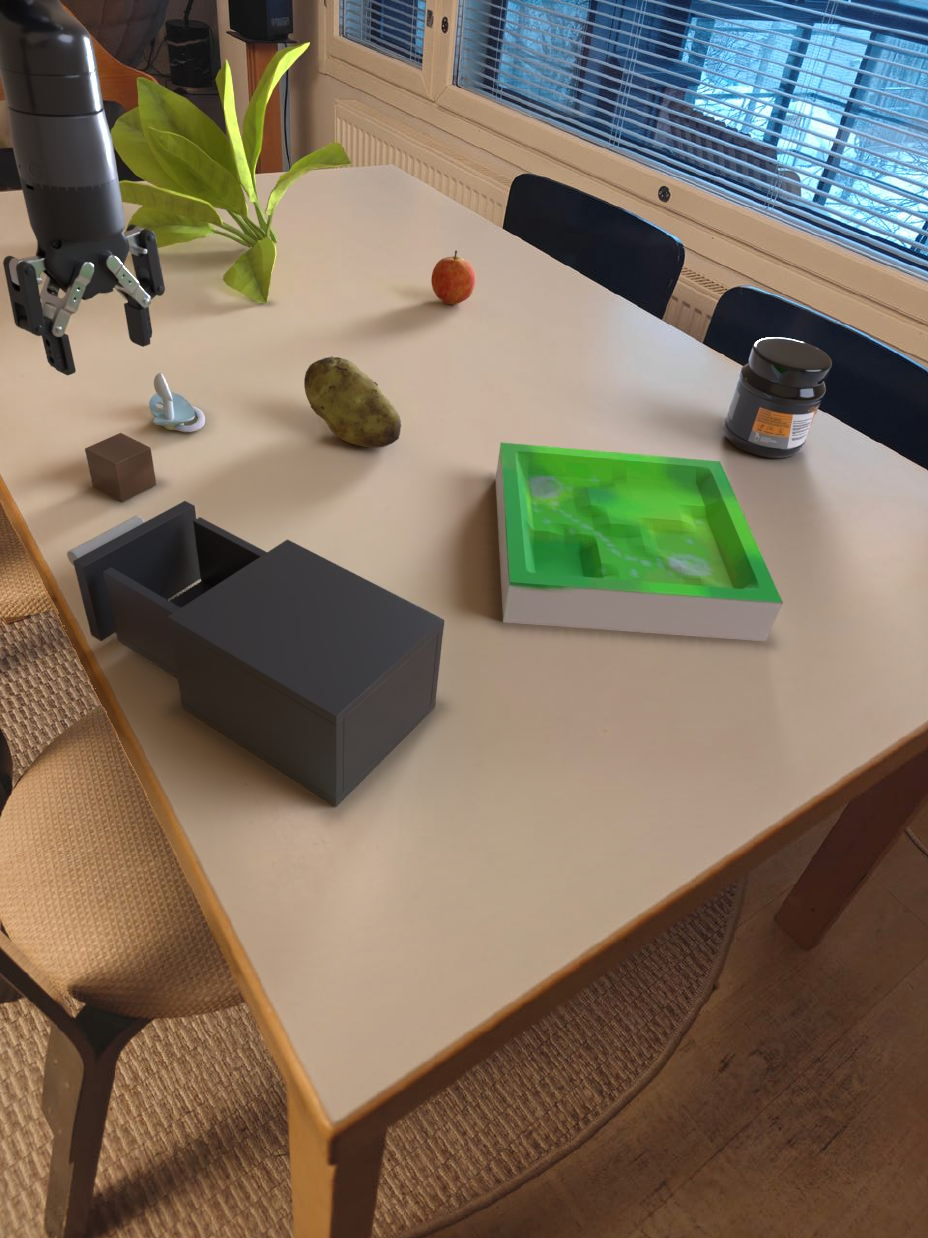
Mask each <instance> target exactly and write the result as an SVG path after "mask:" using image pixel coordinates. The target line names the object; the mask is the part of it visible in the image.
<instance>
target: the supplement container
mask: <svg viewBox="0 0 928 1238" xmlns="http://www.w3.org/2000/svg"><path fill="white" fill-rule="evenodd" d="M751 347H752V348H751V350H750V354H749V357H748V362H746V363H745V364H744V365H743V366H741V369H740V370H739V373H738V379H737V383H736V387H735V389H734V393H733V396H732V398H731V401H730V405H729V408H728V411H727V414H726V417H725V418H724V421H723V427H722V430H723V432H724V435H725V437H726V438H727V439H728V441H729V442H730V443H732V444H733V445H734V446H736V447H737V448H738V449H740V450H742V451H744V452H746V453H748V454H751V455H755V456H758V457H764V458H771V459H780V458H781V459H782V458H788V457H791V456H794V455H796V454H798V453H799V452H800V451H801V450H802V449H803V448H804V446H805V444H806V441H807V437H808V435H809V432H810V430H811V427H812V425H813V422H814V419H815V417H816V414H817V412H818V410H819V407H820V405H821V402H822V400H823V399H824V397H825V395H826V393H827V385H826V383H825V382H826V380H827V378H828V376H829V373H830V371H831V368H832V365H833V361H832V359H831V357H830V356H829V354H827V353H826V352H824V350H822V349H820V348H818V347H817V346H814V345H812V344H810V343H807V342H804V341H800V340H796V339H792V338H786V337H765V338H761V339H759V340H757V341H755V342H754V344H753V345H752V346H751Z"/></svg>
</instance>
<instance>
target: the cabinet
mask: <svg viewBox="0 0 928 1238" xmlns="http://www.w3.org/2000/svg"><path fill="white" fill-rule="evenodd" d="M266 552H267V553H265V554H264V555H262V556H261V557H259V558H258V559H256V560H255V561H253V562H251V563H250V564H248V565H247V566H245V567H244V568H242V569H241V570H239V571H238V572H236V573H234V574H233V575H231V576H230V577H228V578H227V579H225V580H224V581H222V582H221V583H219V584H217V585H216V586H214V587H213V588H211V589H210V590H208V591H207V592H205V593H203V594H202V595H200V596H199V597H197V598H196V599H194V600H193V601H191V602H190V603H188V604H186V605H185V606H183V607H182V608H180V609H179V610H177V611H176V612H174V613H173V614H171V615H169V616H168V623H169V629H170V635H171V641H172V647H173V653H174V659H175V665H176V671H177V677H178V678H177V682H178V688H179V693H180V700H181V706H182V709H183V710H184V711H186V712H187V713H189V714H190V715H192V716H194V717H195V718H197V719H199V721H201V722H203V723H204V724H206V725H208V726H209V727H211V728H212V729H214V730H215V731H217V732H218V733H220V734H221V735H223V736H225V737H226V738H228V739H230V740H231V741H233V742H234V743H235V744H237V745H238V746H240V747H242V748H243V749H245V750H247V752H250V753H251V754H253V755H254V756H256V757H257V758H259V759H261V760H262V761H264V762H265V763H266V764H268V765H270V766H271V767H273V768H275V769H276V770H278V771H279V772H281V773H282V774H284V775H286V776H287V777H289V778H290V779H291V780H292V781H295V782H296V783H298V784H299V785H301V786H303V788H305V789H307V790H308V791H310V792H311V793H313V794H315V795H316V796H318V797H319V798H321V799H323V800H324V801H326V802H327V803H329V804H330V805H332V806H333V807H335V808H337V807H338V806H339V805H340V804H341V803H342V802H343V801H344V800H345V799H346V798H347V797H348V796H349V795H350V794H351V792H353V791H354V790H355V789H356V788H357V787H358V786H359V785H360V784H361V783H362V782H363V781H364V780H365V779H366V778H367V777H368V776H369V775H370V774H371V773H372V772H373V771H374V770H375V769H376V768H377V767H378V765H379V764H381V762H383V761H384V760H385V759H386V758H387V757H388V756H389V755H390V753H392V752H393V751H394V749H395V748H396V747H397V746H399V745H400V743H401V742H403V741H404V740H405V738H406V737H407V736H408V735H409V734H411V732H412V731H414V729H415V728H417V726H419V725H420V724H421V722H423V720H424V719H425V718H426V717H427V716H428V715H430V713H432V711H433V710H434V709H436V702H437V701H436V700H437V693H438V692H437V691H438V684H439V683H438V682H439V676H440V675H439V674H440V666H441V657H442V656H441V655H442V648H443V647H442V646H443V636H444V627H445V621H446V620H445V619H444V618H443V617H440V616H439V615H437V614H435V613H433V612H431V611H429V610H427V609H425V608H423V607H421V606H419V605H417V604H415V603H413V602H411V601H409V600H407V599H405V598H403V597H402V596H399V595H397V594H395V593H393V591H390V590H387V589H386V588H383V587H381V586H380V585H378V584H376V583H374V582H372V581H370V580H369V579H366V578H364V577H362V576H360V575H358V574H356V573H354V572H353V571H350V570H348V569H346V568H344V567H343V566H341V565H339V564H337V563H335V562H333V561H331V560H329V559H327V558H325V557H323V556H321V555H319V554H317V553H315V552H313V551H311V550H309V549H308V548H305V547H303V546H302V545H300V544H298V543H296V542H294V541H291V540H290V539H285V540H284V541H283V542H281V543H279V544H278V545H276V546H274V547H273V548H271V549H270V550H268V551H266Z"/></svg>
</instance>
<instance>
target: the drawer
mask: <svg viewBox="0 0 928 1238" xmlns="http://www.w3.org/2000/svg"><path fill="white" fill-rule="evenodd" d="M267 552H268V551H266V550H263V549H262V548H260V547H258V546H256V545H254V544H253V543H250V542H249V541H247V540H245V539H243V538H241V537H239V536H237V535H236V534H233V533H231V532H230V531H227V530H225V529H224V528H222V527H220V526H218V525H216V524H214V523H212V522H210V521H209V520H207V519H205V518H203V517H200V516H199V517H197V512H196V506H195V505H194V504H192V503H191V502H189V501H187V500H184V501H181V502H180V503H178V504H176V505H174V506H172V507H170V508H169V509H166V510H165V511H163V512H161V513H159V514H157V515H156V516H154V517H152V518H149V519H148V520H146V521H145V520H144V519H143V518H142V517H141V516H139V515H134V516H132V517H130V518H129V519H127V520H125V521H123V522H121V523H119V524H117V525H116V526H113V527H112V528H109V529H108V530H105V531H104V532H102V533H99V534H98V535H96V536H94V537H92V538H91V539H89V540H86V541H85V542H83V543H81V544H79V545H77V546H75V547H73V548H72V549H70V550H68V551H67V552H66V556H67V559H68V561H69V562H70V564H71V565H72V566H73V567H74V571H75V575H76V579H77V583H78V587H79V591H80V596H81V600H82V602H83V606H84V607H83V608H84V611H85V616H86V619H87V623H88V627H89V631H90V635H91V636H92V637H93V638H95V639H96V640H98V641H100V642H102V641H104V640H105V639H107V638H109V637H110V636H112V635H114V634H115V633H116V638H117V642H118V643H120V644H122V645H123V646H125V647H127V648H128V649H129V650H131V651H133V652H135V653H136V654H138V655H140V656H141V657H143V658H144V659H146V660H147V661H149V662H150V663H152V664H153V665H155V666H156V667H159V668H160V669H162V670H164V671H165V672H167V673H168V674H170V675H171V676H172V677H174V678H176V679H178V677H177V671H176V665H175V659H174V653H173V647H172V641H171V635H170V629H169V623H168V616H169V615H171V614H173V613H174V612H176V611H177V610H179V609H180V608H182V607H183V606H185V605H186V604H188V603H190V602H191V601H193V600H194V599H196V598H197V597H199V596H200V595H202V594H203V593H205V592H207V591H208V590H210V589H211V588H213V587H214V586H216V585H217V584H219V583H221V582H222V581H224V580H225V579H227V578H228V577H230V576H231V575H233V574H234V573H236V572H238V571H239V570H241V569H242V568H244V567H245V566H247V565H248V564H250V563H251V562H253V561H255V560H256V559H258V558H259V557H261V556H262V555H264V554H265V553H267ZM198 581H199V582H198ZM196 582H197V583H196ZM195 583H196V584H195ZM193 584H194V585H193ZM191 585H192V586H191ZM190 586H191V587H190ZM188 587H190V588H188ZM186 588H188V589H186ZM185 589H186V590H185ZM184 590H185V591H184ZM182 591H183V592H182ZM181 592H182V593H181ZM179 593H180V594H179ZM177 594H179V595H177ZM174 596H176V597H174ZM171 598H172V599H171Z"/></svg>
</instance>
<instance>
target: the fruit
mask: <svg viewBox="0 0 928 1238" xmlns="http://www.w3.org/2000/svg"><path fill="white" fill-rule="evenodd" d="M457 254H458V250H455V251H454V255H453V256H447V257H443V258H441V259H440V260H439V261H438V262H437V263H436V264H435V265H434V267H433V270H432V273H431V281H430V283H431V287H432V291H433V292H434V294H435V296H437V298H438V299H439V300H441V302H443V303H445V304H446V305H452V306H456V305H458V304H460V303H462V302H465V301H466V300H467V299H469V298H470V297H471V296H472V294H473V292H474V290H475V286H476V273H475V269H474V267H473V266H472V264H471V263H470V262H469V261H467V260H466V259H464V258H462V257H460V256H457Z"/></svg>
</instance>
